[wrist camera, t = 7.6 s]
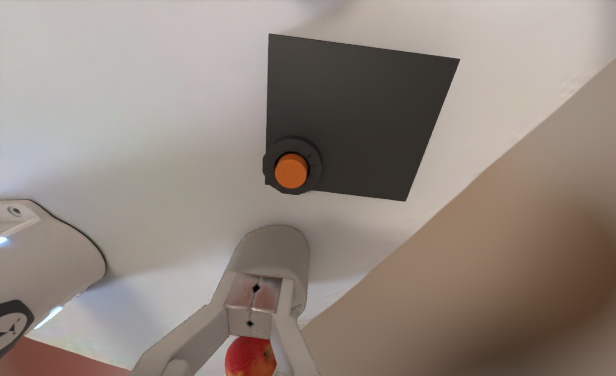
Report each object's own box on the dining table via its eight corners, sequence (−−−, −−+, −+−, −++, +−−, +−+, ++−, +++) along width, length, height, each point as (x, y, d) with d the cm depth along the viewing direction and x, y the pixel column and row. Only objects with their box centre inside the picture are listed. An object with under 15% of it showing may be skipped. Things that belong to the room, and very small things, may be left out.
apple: (229, 326, 41) (210, 379, 34) (269, 319, 39) (259, 373, 32) (247, 348, 44) (234, 400, 37) (285, 343, 43) (279, 396, 36)
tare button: (276, 179, 23) (273, 186, 21) (278, 151, 21) (275, 157, 20) (305, 182, 23) (304, 190, 21) (309, 155, 21) (308, 161, 20)
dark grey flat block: (268, 177, 26) (261, 191, 23) (272, 36, 19) (264, 29, 16) (400, 193, 26) (411, 209, 23) (448, 60, 20) (472, 57, 17)
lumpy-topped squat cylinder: (222, 267, 34) (193, 324, 26) (263, 210, 28) (242, 261, 21) (279, 294, 36) (269, 354, 28) (327, 246, 31) (330, 304, 23)
